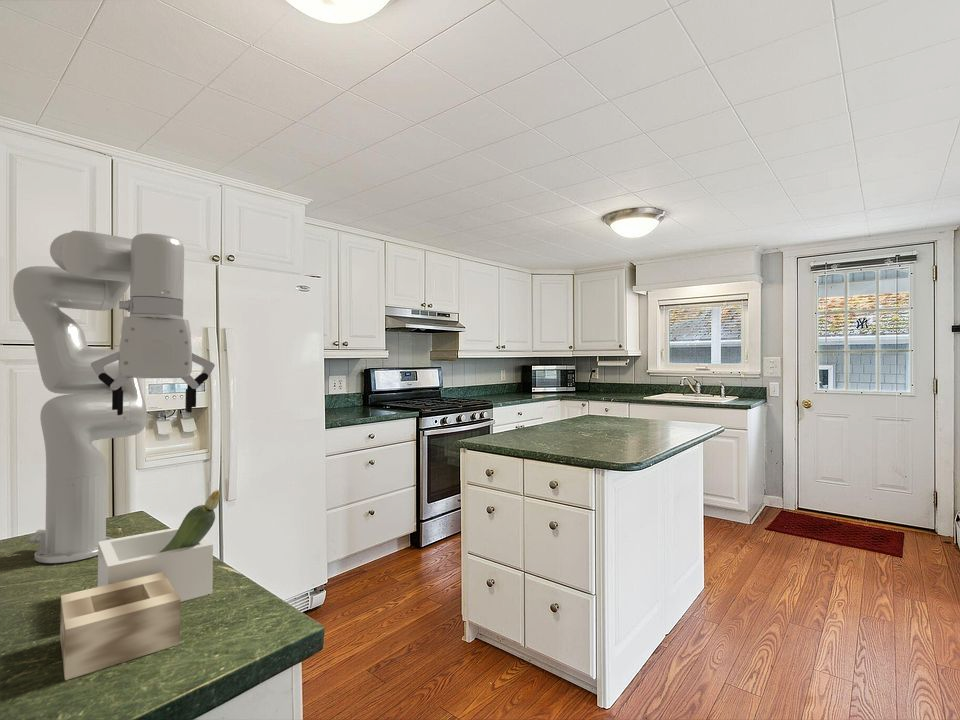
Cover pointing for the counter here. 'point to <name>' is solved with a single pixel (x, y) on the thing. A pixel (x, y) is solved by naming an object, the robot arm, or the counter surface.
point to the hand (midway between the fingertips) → (155, 413)
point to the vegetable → (195, 524)
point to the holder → (118, 623)
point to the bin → (158, 562)
